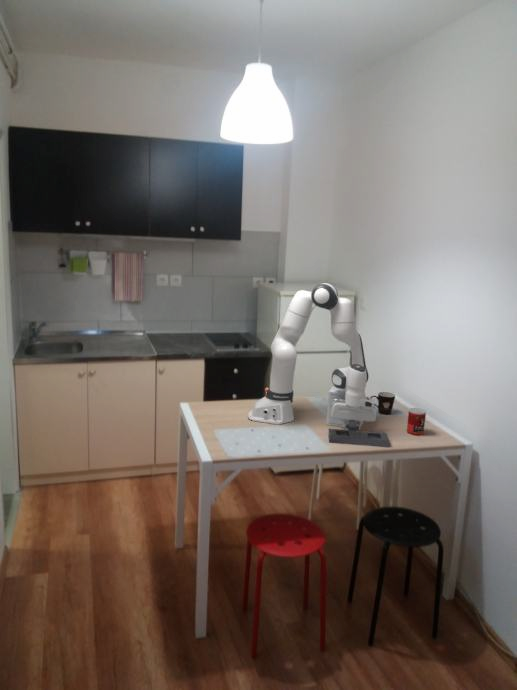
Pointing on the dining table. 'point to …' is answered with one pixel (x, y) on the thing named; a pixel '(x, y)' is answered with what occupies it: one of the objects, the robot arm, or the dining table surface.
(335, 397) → the supplement box
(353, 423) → the nut block
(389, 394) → the coffee mug
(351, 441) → the grey slotted base block
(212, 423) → the dining table surface
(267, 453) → the dining table surface
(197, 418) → the dining table surface
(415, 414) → the canned food
